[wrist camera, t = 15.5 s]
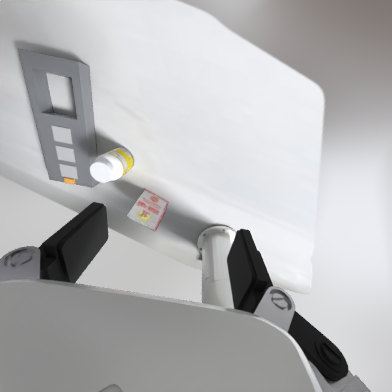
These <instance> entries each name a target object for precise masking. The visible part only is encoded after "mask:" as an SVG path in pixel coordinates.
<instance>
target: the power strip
mask: <svg viewBox="0 0 392 392" xmlns="http://www.w3.org/2000/svg"><path fill="white" fill-rule="evenodd" d="M18 52H19V56H20V60H21V64H22V68H23V72H24V76H25V80H26V85H27V89H28V93H29V97H30V101H31V105H32V109H33V113H34V117H35V122H36V126H37V130H38V134H39V138H40V142H41V146H42V150H43V154H44V159H45V163H46V167H47V171H48V175H49V179H50V180H55V181H61V182H65V183H68V184H77V185H82V186H88V187H94V186H95V185H97V184H98V183H100V182H99V181H97V180H95V179H94V178H93V177H92V175H91V173H90V166H91V165H92V164H93V163H94V162H95V160H96V159H97V147H96V136H95V125H94V114H93V103H92V92H91V81H90V71H89V66H88V65H85V64H83V63H80V62H78V61H73V60H69V59H64V58H59V57H55V56H50V55H46V54H41V53H36V52H32V51H27V50H23V49H18ZM46 73H51V74H56V75H61V76H65V77H70V78H72V84H73V92H74V99H75V107H76V114H77V117H73V116H68V115H63V114H58V113H53V108H52V102H51V97H50V92H49V87H48V82H47V76H46Z"/></svg>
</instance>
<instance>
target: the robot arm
mask: <svg viewBox="0 0 392 392" xmlns="http://www.w3.org/2000/svg"><path fill="white" fill-rule="evenodd" d="M107 239H108V226H107V213H106V207H105V206H104V205H103V204H101V203H96V202H93V203H92V204H90V205H89V206H88V207H87V208H85V209H84V210H83V211H82V212H81V213H79V214H78V215H77V216H76V217H74V218H73V219H72V220H71V221H69V222H68V223H67V224H66V225H65V226H63V227H62V228H61V229H60V230H58V231H57V232H56V233H55V234H53V235H52V236H51V237H50V238H49V239H47V240H46V241H45V242H44V243H42V245H41V246H40V247H39V248H37V247H34V246H27V247H21V248H18V249H15V250H13V251H11V252H9V253H7V254H6V255H4V256H3V257H2V258H1V259H0V392H370V390H369V389H368V388H367V387H366V385H365V384H364V383H363V382H362V381H361V380H360V379H359V377H358V376H357V375H355V376H353V375H352V374H351V373H350V371H349V370H348V365H347V362H346V360H345V358H344V356H343V354H342V353H341V352H340V350H339V349H338V348H337V347H336V346H335V345H334V344H333V343H332V342H331V341H330V340H329V339H327V338H326V337H325V336H324V335H323V334H322V333H321V332H319V331H318V330H317V329H316V328H315V327H314V326H312V325H311V324H310V323H309V322H308V321H306V320H305V319H304V318H303V317H302V316H301V315H299V314H298V313H297V312H296V311H295V304H294V302H293V300H292V298H291V297H290V296H289V295H288V294H287V293H286V292H285V291H284V290H283V289H281V288H279V287H275V286H273V284H272V282H271V279H270V277H269V274H268V272H267V269H266V267H265V264H264V261H263V259H262V256H261V254H260V252H259V251H257V249H256V246H255V244H254V241H253V238H252V236H251V233H250V231H249V230H245V229H240V231H239V230H238V231H237V233H236V232H235V231H234V230H233V229H231V228H229V227H226V226H213V227H209V228H207V229H205V230H204V231H203V232H202V233H201V234H200V235H199V237H198V240H197V247H198V250H199V252H200V253H201V254H202V303H198V302H192V301H185V300H179V299H173V298H167V297H160V296H154V295H148V294H142V293H135V292H129V291H123V290H116V289H110V288H102V287H96V286H90V285H83V284H76V283H75V282H76V281H77V279H78V278H79V277H80V276H81V274H82V273H83V272H84V270H85V269H86V268H87V266H88V265H89V264H90V262H91V261H92V260H93V258H94V257H95V256H96V254H97V253H98V252H99V250H100V249H101V248H102V247H103V245H104V244H105V243H106V241H107Z"/></svg>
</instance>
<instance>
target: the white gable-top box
mask: <svg viewBox="0 0 392 392" xmlns="http://www.w3.org/2000/svg"><path fill="white" fill-rule="evenodd" d="M167 205H168V202H167V201H165V200H164V199H162V198H160V197H158V196H157V195H155V194H153V193H151V192H150V191H148V190H146V189H145V190H144V192H143V193H142V194H141V196H140V197H139V198H138V200H137V201H136V203H135V204H134V205H133V207H132V208H131V210H130V211H129V213H128V214H127V216H126V217H128V218H130V219H132V220H134V221H136V222H138V223H140V224H142V225H144V226H145V227H147V228H149V229H151V230H153V231H156V229H157V227H158V225H159V223H160V221H161V219H162V217H163V215H164V212H165V210H166V207H167Z"/></svg>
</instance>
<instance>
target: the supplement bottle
mask: <svg viewBox="0 0 392 392" xmlns="http://www.w3.org/2000/svg"><path fill="white" fill-rule="evenodd" d="M133 166H134V156H133V154H132V153H131V152H130V151H129V150H127V149H126V148H121V147H120V148H116V149H113V150H111V151H109V152H107V153H104V154H102V155H100V156H98V157H97V159H96V160H95V162H94V163H93V164H92V165H91V166H90V173H91V175H92V177H93V178H94V179H95V180H97V181H99V182H102V183H105V182H108V181H110V180H117V179H119V178H120V177H121V176H123V175H124V174H125V173H126V172H127V171H129V170H130V169H131V168H132V167H133Z"/></svg>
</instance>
